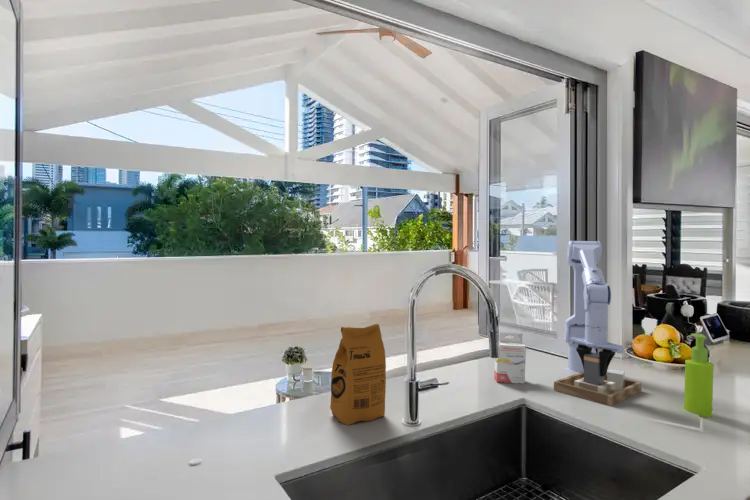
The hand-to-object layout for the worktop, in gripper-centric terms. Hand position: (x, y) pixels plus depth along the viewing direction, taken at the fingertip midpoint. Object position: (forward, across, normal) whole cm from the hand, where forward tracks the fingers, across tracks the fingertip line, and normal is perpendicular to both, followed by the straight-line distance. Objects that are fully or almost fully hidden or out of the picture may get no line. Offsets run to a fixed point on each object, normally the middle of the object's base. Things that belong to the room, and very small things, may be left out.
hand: (594, 373), depth 131 cm
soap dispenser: (+6, +23, +7) cm, 25 cm away
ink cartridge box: (+6, -22, -9) cm, 25 cm away
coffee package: (+6, -28, -64) cm, 70 cm away
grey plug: (+5, +2, +8) cm, 10 cm away
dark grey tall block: (+2, 0, 0) cm, 2 cm away
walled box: (+6, 0, +2) cm, 6 cm away
